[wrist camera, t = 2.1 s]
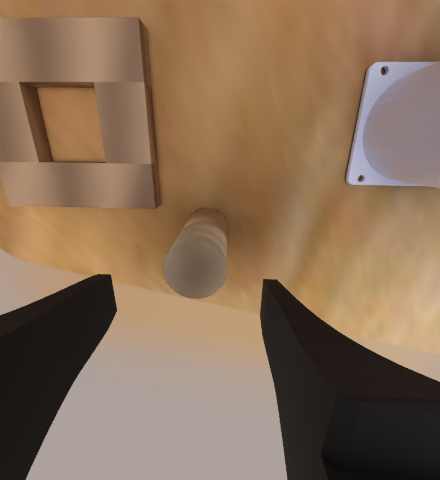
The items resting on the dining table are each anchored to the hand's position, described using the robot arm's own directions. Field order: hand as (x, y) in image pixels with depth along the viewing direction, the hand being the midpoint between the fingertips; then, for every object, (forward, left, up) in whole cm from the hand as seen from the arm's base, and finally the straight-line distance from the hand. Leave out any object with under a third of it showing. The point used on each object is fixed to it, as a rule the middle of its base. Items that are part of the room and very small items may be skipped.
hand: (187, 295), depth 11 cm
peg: (0, 0, -10) cm, 10 cm away
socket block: (+10, -8, -10) cm, 16 cm away
